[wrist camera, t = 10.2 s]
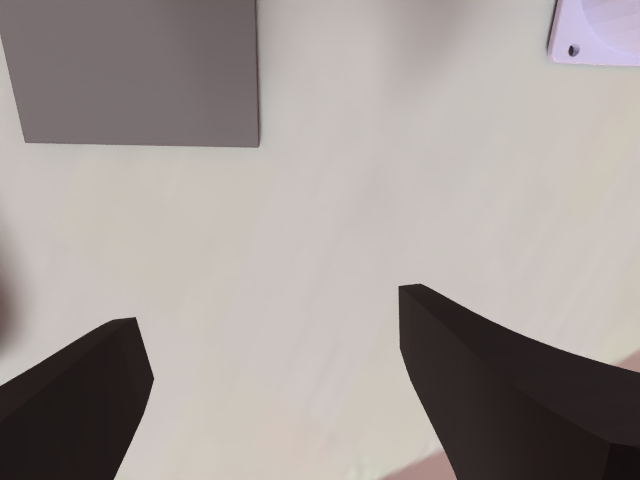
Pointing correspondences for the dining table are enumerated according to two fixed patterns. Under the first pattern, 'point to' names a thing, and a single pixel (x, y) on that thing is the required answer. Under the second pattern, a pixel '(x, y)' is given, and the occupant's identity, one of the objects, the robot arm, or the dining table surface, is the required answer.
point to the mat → (134, 71)
